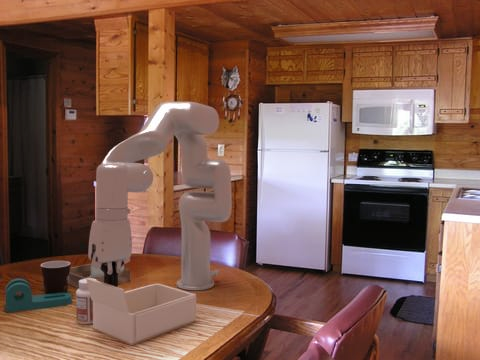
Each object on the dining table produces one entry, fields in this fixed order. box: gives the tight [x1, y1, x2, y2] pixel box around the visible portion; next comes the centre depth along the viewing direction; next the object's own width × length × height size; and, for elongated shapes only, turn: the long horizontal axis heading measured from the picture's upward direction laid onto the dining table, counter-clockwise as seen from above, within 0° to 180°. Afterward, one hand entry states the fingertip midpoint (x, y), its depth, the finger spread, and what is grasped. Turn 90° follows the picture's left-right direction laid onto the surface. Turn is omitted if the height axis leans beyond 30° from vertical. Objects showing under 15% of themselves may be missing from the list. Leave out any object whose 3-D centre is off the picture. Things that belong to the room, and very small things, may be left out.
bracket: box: [4, 277, 73, 314], centre depth 154 cm, size 18×7×8 cm, turn 115°
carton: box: [92, 283, 197, 346], centre depth 139 cm, size 22×17×8 cm
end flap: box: [86, 277, 129, 314], centre depth 129 cm, size 1×14×6 cm, turn 50°
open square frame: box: [68, 262, 131, 289], centre depth 179 cm, size 17×17×4 cm
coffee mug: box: [40, 260, 71, 294], centre depth 164 cm, size 12×9×10 cm
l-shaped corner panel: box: [88, 264, 125, 278], centre depth 178 cm, size 12×12×8 cm
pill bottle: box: [75, 278, 96, 325], centre depth 142 cm, size 6×6×11 cm
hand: (110, 288), depth 130 cm, fingers closed
